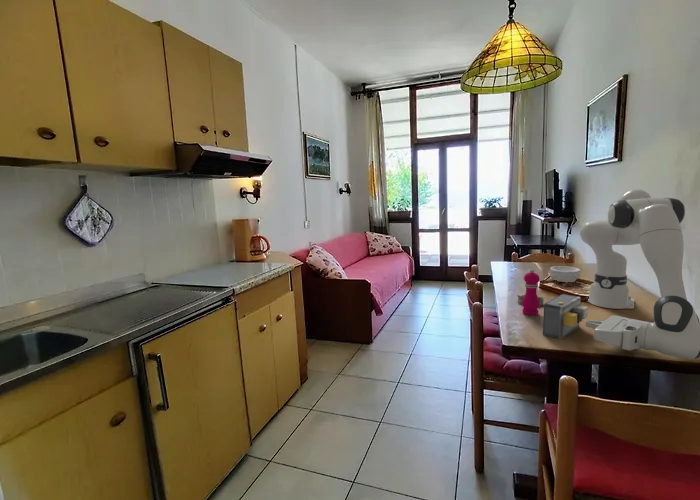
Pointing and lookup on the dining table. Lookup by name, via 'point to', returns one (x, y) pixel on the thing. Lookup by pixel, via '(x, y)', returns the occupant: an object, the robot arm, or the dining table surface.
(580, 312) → the black button
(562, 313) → the console
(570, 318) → the amber button
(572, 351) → the dining table surface
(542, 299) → the egg carton
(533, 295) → the pepper mill
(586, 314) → the white button
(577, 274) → the paper bowls
